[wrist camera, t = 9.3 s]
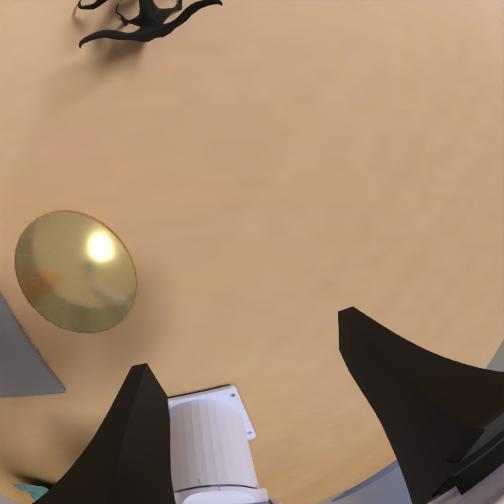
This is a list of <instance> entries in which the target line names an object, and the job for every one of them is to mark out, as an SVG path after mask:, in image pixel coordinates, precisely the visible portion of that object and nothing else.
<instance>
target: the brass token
mask: <svg viewBox="0 0 504 504" xmlns="http://www.w3.org/2000/svg"><path fill="white" fill-rule="evenodd" d="M15 266H16V273H17V278H18V281H19V284H20V287H21V289H22V291H23V293H24V295H25V296H26V298H27V300H28V301H29V302H30V304H31V305H32V306H33V307H34V308H35V309H36V310H37V312H38V313H40V314H41V315H42V316H43V317H44V318H46V319H47V320H48V321H50V322H52V323H53V324H55V325H57V326H59V327H61V328H64V329H67V330H70V331H74V332H79V333H95V332H101V331H104V330H107V329H109V328H111V327H113V326H115V325H116V324H118V323H119V322H120V321H121V320H122V319H123V318H124V317H125V316H126V315H127V314H128V312H129V310H130V309H131V307H132V304H133V302H134V298H135V293H136V285H137V282H136V273H135V267H134V264H133V261H132V259H131V257H130V254H129V252H128V250H127V249H126V247H125V246H124V244H123V243H122V241H121V240H120V239H119V238H118V236H117V235H116V234H115V233H114V232H113V231H112V230H111V229H109V228H108V227H107V226H106V225H104V224H103V223H101V222H100V221H98V220H96V219H95V218H93V217H90V216H88V215H86V214H82V213H79V212H73V211H56V212H51V213H48V214H45V215H43V216H41V217H39V218H38V219H37V220H35V221H34V222H33V223H31V224H30V225H29V226H28V228H27V229H26V230H25V231H24V233H23V234H22V236H21V238H20V240H19V242H18V246H17V249H16V256H15Z"/></svg>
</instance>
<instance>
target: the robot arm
mask: <svg viewBox="0 0 504 504" xmlns="http://www.w3.org/2000/svg"><path fill="white" fill-rule="evenodd" d="M338 323H339V350H340V353H341V355H342V357H343V359H344V361H345V364H346V366H347V368H348V370H349V372H350V373H351V375H352V377H353V378H354V380H355V381H356V383H357V385H358V386H359V388H360V389H361V391H362V393H363V394H364V396H365V397H366V399H367V400H368V402H369V404H370V405H371V407H372V408H373V410H374V412H375V413H376V415H377V417H378V418H379V420H380V422H381V424H382V426H383V428H384V431H385V433H386V435H387V437H388V439H389V442H390V444H391V446H392V449H393V451H394V453H395V456H396V458H397V461H398V463H399V466H400V468H401V471H402V473H403V476H404V479H405V482H406V485H407V488H408V491H409V494H410V497H411V501H412V504H504V372H499V371H492V370H487V369H482V368H478V367H474V366H470V365H466V364H463V363H460V362H457V361H453V360H450V359H448V358H445V357H442V356H440V355H437V354H435V353H433V352H430V351H428V350H426V349H424V348H421V347H419V346H417V345H415V344H414V343H412V342H410V341H408V340H406V339H404V338H402V337H401V336H399V335H397V334H396V333H394V332H392V331H391V330H389V329H387V328H386V327H384V326H382V325H381V324H379V323H378V322H376V321H375V320H373V319H371V318H370V317H368V316H367V315H365V314H364V313H362V312H361V311H359V310H358V309H356V308H354V307H350V308H347V309H344V310H341V311H338ZM255 437H256V434H255V432H254V429H253V427H252V425H251V422H250V420H249V418H248V415H247V413H246V411H245V408H244V406H243V403H242V401H241V398H240V396H239V394H238V391H237V389H236V387H235V386H232V385H230V386H225V387H221V388H217V389H212V390H208V391H204V392H199V393H194V394H189V395H184V396H179V397H174V398H169V399H168V397H167V395H166V393H165V392H164V390H163V389H162V387H161V386H160V384H159V382H158V381H157V379H156V378H155V376H154V374H153V373H152V371H151V369H150V368H149V366H148V364H147V363H145V364H140V365H135V366H132V367H131V369H130V371H129V373H128V375H127V377H126V379H125V380H124V382H123V384H122V386H121V388H120V390H119V392H118V394H117V396H116V398H115V400H114V402H113V404H112V406H111V408H110V410H109V412H108V413H107V415H106V417H105V419H104V421H103V422H102V424H101V426H100V427H99V429H98V431H97V433H96V434H95V436H94V437H93V439H92V440H91V442H90V443H89V445H88V446H87V448H86V449H85V450H84V452H83V453H82V454H81V456H80V457H79V458H78V459H77V461H76V462H75V463H74V464H73V465H72V467H71V468H70V469H69V470H68V471H67V473H66V474H65V475H64V476H63V477H62V478H61V479H60V480H59V481H58V482H57V483H56V484H55V485H54V486H53V487H52V488H51V489H50V490H48V491H47V492H46V493H45V494H44V495H42V496H41V497H40V498H39V499H38V500H36V501H35V502H34V503H32V504H283V503H282V502H280V501H279V500H278V499H277V498H274V497H271V498H268V495H267V491H266V489H265V488H262V489H259V486H258V482H257V478H256V474H255V469H254V465H253V461H252V457H251V453H250V448H249V444H248V440H250V439H253V438H255Z"/></svg>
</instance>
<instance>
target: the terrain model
mask: <svg viewBox="0 0 504 504" xmlns="http://www.w3.org/2000/svg"><path fill="white" fill-rule="evenodd" d="M12 485H13V484H12ZM14 486H15V487H17V488H19V489H21V490H26V491H28V492H29V493H30V494H31V496H32V497H33V499H35V500H38V499H39V498H40V497H41V496H42V495H44V494H45V493H46V492H47V491H48V489H47V488H45V487H42V486H35V485H29V484H27V485H24V484H16V485H14Z"/></svg>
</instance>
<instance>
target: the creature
mask: <svg viewBox="0 0 504 504" xmlns="http://www.w3.org/2000/svg"><path fill="white" fill-rule="evenodd" d="M80 1H81V0H80ZM80 1H79V3H78V8H80V9H95V8H97V7H99V6H100V5H102V4H103V3H105V2H106V1H107V0H97V1H96V2H95V3H94V4H91V5H85V6H81V3H80ZM118 4H119V3H118ZM213 4H220V5H221V6H222V2H221V1H220V0H202V1H198V2H195V3H193V4H191V5H190V6H188V7H187V8H186V9H185V10H184V11H183V12H182V13H181V14H180V15H179V16H178V17H177V18H176V19H175V20H173V21H172V22H169V23H167V24H163V22H164V21H165V20H166V19H167V18H168V16H169V15H170V14H171V13H172V12H173V11H174V10H176V9H179V10H182V0H179V4H176V6H175V7H173V8H167V9H160V8H158V7H157V6H156V5H155V3H154V1H153V0H139V6H140V11H139V15H138V16H137V17H135V18H134V19H132V20H127V19H125V18H124V17H123V16H122V15H121V14H119V13H118V12H117V11H116V13H117V14H118V15H120V17H121V19H122V21H123V23H124V25H125V26H126V25H127V24H128V23H130V24H133V25H136V26H139V27H140V29H138V30H137V31H136V32H133V33H125V32H119V31H115V30H102V31H98V32H95V33H93V34H90V35H88V36H87V37H85V38H83V39H82V40H81V41H80V43H79V47H80V48H81V46H82V45H83V44H84V43H86V42H88V41H91V40H94V39H99V38H110V39H116V40H134V41H140V42H148V41H151V40H153V39H155V38H158V37H164V36H166V35H168V34H170V33H171V32H172V31H173V30H174V29H175V28H177V27H178V26H180V25H181V24H183V23H184V22H185V21H187V20H188V19H189V17H190V16H191V15H192V14H194V13H195V12H196V11H198V10H199V9H201V8H203V7H206V6H209V5H213ZM117 7H118V5H117ZM117 7H116V10H117Z"/></svg>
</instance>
